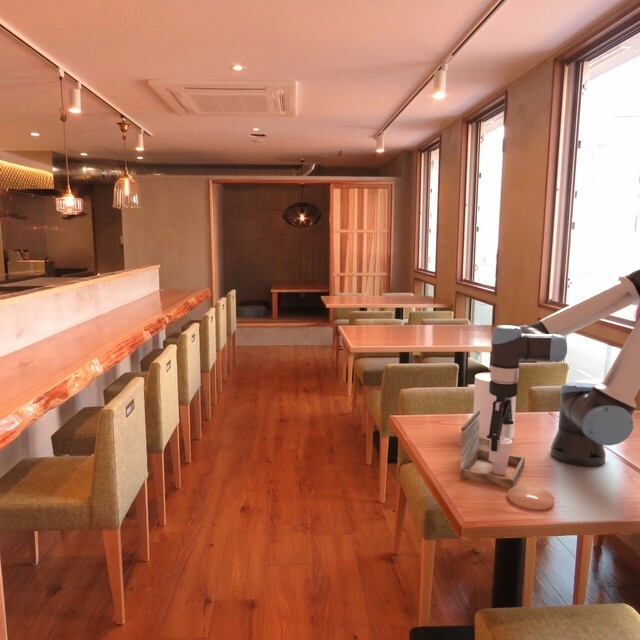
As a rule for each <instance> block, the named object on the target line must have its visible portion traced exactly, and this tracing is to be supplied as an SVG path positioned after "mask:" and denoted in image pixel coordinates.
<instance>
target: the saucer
mask: <svg viewBox="0 0 640 640" xmlns="http://www.w3.org/2000/svg"><path fill="white" fill-rule="evenodd" d="M507 499H508V501H509V502H511V504H513V505H515V506H517V507H519V508H522V509H525V510H530V511H547V510H550V509H551V508H553V507H554V505H555V498H554V496H553V495H552V494H551V493H550V492H548V491H546V490H544V489H542V488H540V487H535V486H530V485H515V486H514V487H512V488H510V489H509V488H508V491H507Z"/></svg>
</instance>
